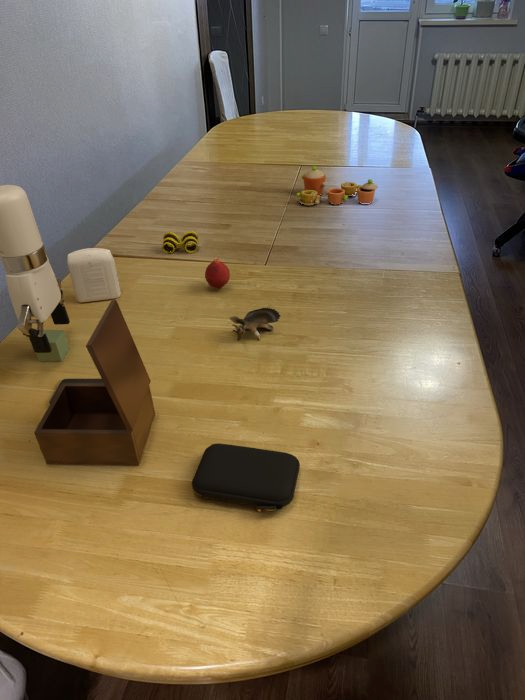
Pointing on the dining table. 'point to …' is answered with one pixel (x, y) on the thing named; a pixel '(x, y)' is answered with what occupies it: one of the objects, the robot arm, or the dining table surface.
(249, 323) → the brown animal figure
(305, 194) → the toy tea set
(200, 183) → the dining table surface
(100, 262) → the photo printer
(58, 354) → the block
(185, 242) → the opera glasses
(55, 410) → the keepsake box
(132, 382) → the lid
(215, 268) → the onion
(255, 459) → the carrying case
